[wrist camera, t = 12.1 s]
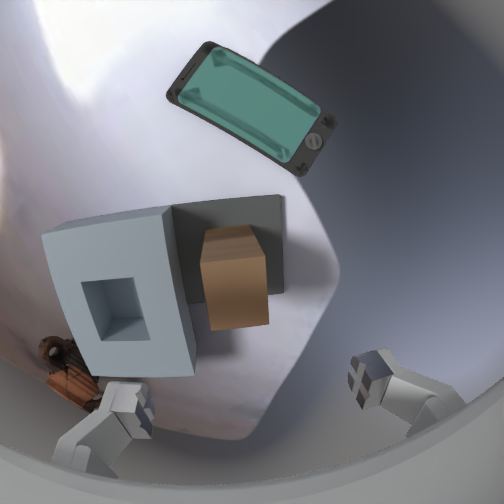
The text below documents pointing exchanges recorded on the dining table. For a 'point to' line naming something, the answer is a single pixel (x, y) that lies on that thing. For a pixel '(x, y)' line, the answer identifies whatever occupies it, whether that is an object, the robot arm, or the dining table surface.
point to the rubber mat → (222, 215)
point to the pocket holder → (124, 293)
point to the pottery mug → (69, 373)
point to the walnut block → (234, 278)
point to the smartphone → (253, 107)
